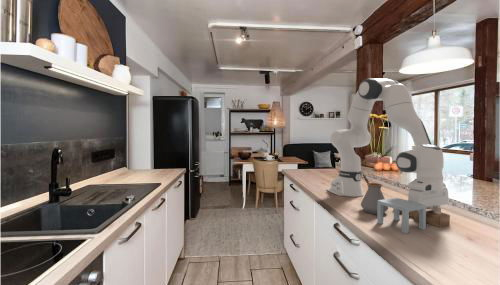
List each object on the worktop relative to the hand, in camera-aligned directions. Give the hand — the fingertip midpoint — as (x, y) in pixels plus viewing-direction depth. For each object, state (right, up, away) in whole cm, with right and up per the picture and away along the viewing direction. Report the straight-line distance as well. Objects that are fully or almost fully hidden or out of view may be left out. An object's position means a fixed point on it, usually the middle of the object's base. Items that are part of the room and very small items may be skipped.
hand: (428, 216), depth 100 cm
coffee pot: (-16, -2, +17) cm, 23 cm away
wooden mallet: (-2, -2, +4) cm, 5 cm away
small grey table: (-15, -2, -5) cm, 16 cm away
